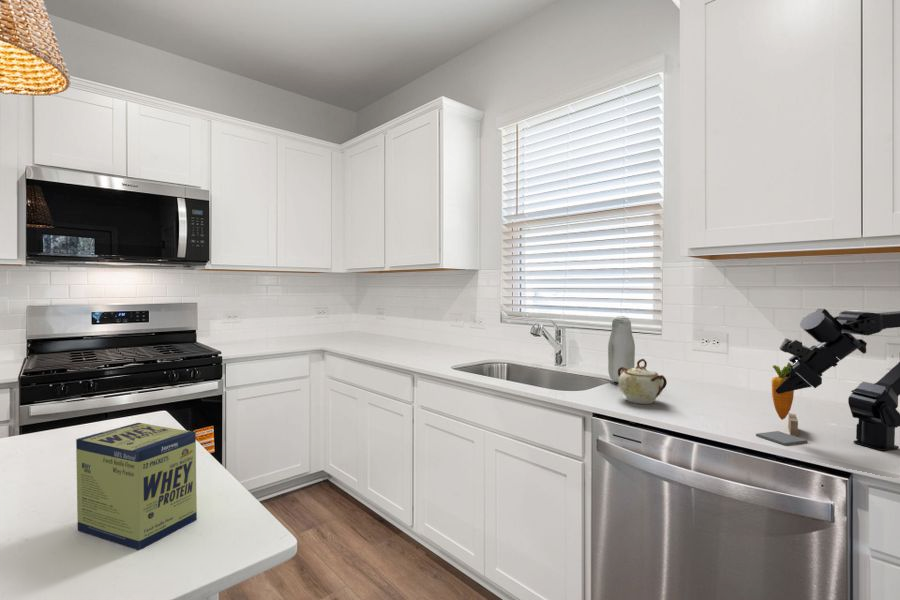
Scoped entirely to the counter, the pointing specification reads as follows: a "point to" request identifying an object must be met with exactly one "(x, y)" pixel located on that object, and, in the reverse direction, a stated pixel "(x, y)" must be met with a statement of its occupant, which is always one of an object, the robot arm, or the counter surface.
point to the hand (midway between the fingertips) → (776, 390)
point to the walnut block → (793, 424)
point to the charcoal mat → (781, 438)
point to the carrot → (783, 399)
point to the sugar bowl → (641, 384)
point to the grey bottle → (620, 347)
